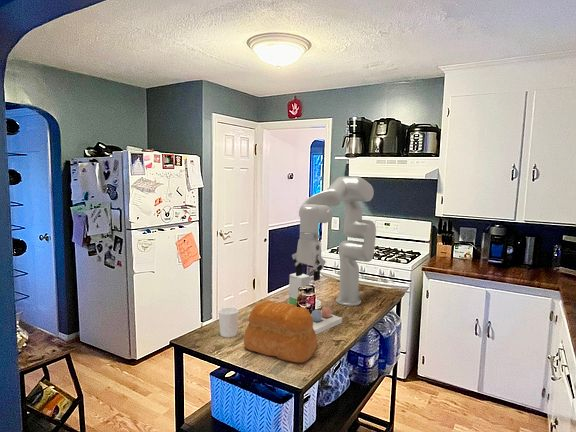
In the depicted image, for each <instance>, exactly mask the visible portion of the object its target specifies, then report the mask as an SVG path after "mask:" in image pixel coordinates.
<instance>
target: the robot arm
mask: <svg viewBox="0 0 576 432" xmlns="http://www.w3.org/2000/svg"><path fill="white" fill-rule="evenodd" d="M374 195H375V194H374V188H373V186H372V184H370V182H368V181H367V180H365V179H364V178H362V177H360V176H346V175H345V176H339V177H337V178H336V179H335V180H334V181H333V182H332V183H331V184H330V186H328V188H327V189H326V190H323V191H320V192H318V193H316V194H313V195H311V196H310V197H307V198H306V199H305V200H304V202H303V203H302V204H301V205H300V207H299V210H298V216H299V219H300V220H299V239H298V240H297V241H298V242H297V246H296V248H297V249H296V252H295V253H293V254H291V258H292V261H293V263H294V266H295V273H296V276H300V275H302V274H303V265H306V266H307V265H308V266H311V267H312V268H313V270H314V271H313V279H312V280H313V281H314V282H317V281H320V280H321V271H322V269H323V268H324V267H325V265H326V262H327V261H326V260H325V259H324V258H323V257H322V246H321V241H320V240H319V239H320V238H321V236H320V235H319V225H320V224H327V223H329V222H330V221H331V220H332V219H333V216H334V212H333V209H332V208H333V207H336V206H339V205H340V204H341V203H342V202H343V205H344V209H345V210H344V212H345V213H344V221H343V223H344V224H343V234H344V236H345V237H347V238H351V239H360V240H363V241H358V240H351V239H349V240H348V239H346V240H343V241H341V242H340V243H339V245H338V256H339V285H338V286H339V287H338V288H339V289H338V290H339V293H338V296H337V297H336V298H335V302H336V303H337V304H339V305H342V306H348V307H350V306H351V307H354V306H358V305H360V304H361V303H362V299H361V298H360V296H362V295H363V294H364V293H363V291H361V290H360V291H359V282H360V281H359V278H360V276H359V275H360V267H359V264H358V262H366V263H368V262H371V261H372V260H373V258H374V254H375V248H376V247H375V246H376V237H377V236H376V235H377V226H376V223H374V221H372V220H370V219H363V207H362V205H361V203H360V202H366V203H367V202H370V201H372V199H373V198H374Z"/></svg>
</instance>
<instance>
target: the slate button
mask: <svg viewBox="0 0 576 432" xmlns="http://www.w3.org/2000/svg"><path fill="white" fill-rule="evenodd" d="M321 311H322V310H318V309H315V310H312V311H311V314H312V318H313V322H315V323H319V322H321Z"/></svg>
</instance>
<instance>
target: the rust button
mask: <svg viewBox="0 0 576 432" xmlns="http://www.w3.org/2000/svg"><path fill="white" fill-rule="evenodd" d="M321 311H322V318H325V319H329V318H331V314H332V307H331V306H322V307H321Z"/></svg>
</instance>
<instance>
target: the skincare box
mask: <svg viewBox="0 0 576 432" xmlns="http://www.w3.org/2000/svg"><path fill="white" fill-rule="evenodd" d="M310 281H311V275H308V274H305V273H302V275H300V276H296V272H294V273H290V274H289V283H288V285H289V286H288V302H287V303H288V304H293V305H295V306H296V301H297V294H298V288H299V287H301V286H306V285H309V286H310Z"/></svg>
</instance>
